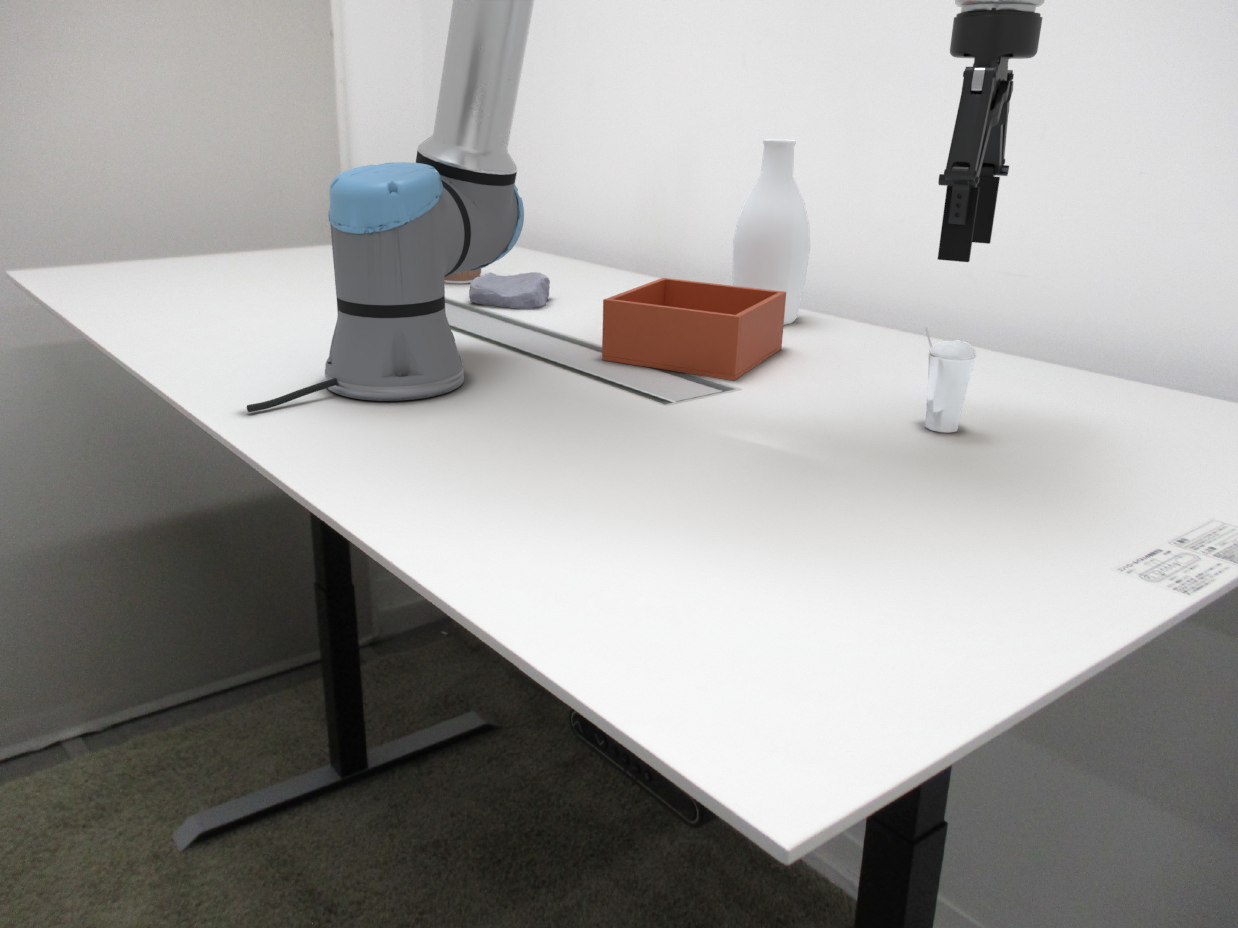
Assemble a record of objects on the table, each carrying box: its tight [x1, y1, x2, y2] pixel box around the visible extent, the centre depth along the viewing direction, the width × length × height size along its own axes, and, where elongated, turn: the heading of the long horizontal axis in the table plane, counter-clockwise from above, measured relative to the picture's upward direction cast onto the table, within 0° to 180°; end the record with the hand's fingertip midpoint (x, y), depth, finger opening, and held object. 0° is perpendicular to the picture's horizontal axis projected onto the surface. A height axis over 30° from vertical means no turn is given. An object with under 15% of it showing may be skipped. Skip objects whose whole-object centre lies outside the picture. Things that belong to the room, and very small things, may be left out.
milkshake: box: [924, 327, 977, 434], centre depth 102 cm, size 4×5×10 cm
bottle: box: [731, 138, 811, 326], centre depth 145 cm, size 11×11×25 cm
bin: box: [601, 277, 786, 381], centre depth 128 cm, size 18×18×8 cm
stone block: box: [468, 271, 551, 310], centre depth 156 cm, size 12×5×10 cm
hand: (965, 251), depth 97 cm, fingers open, 13 cm apart
